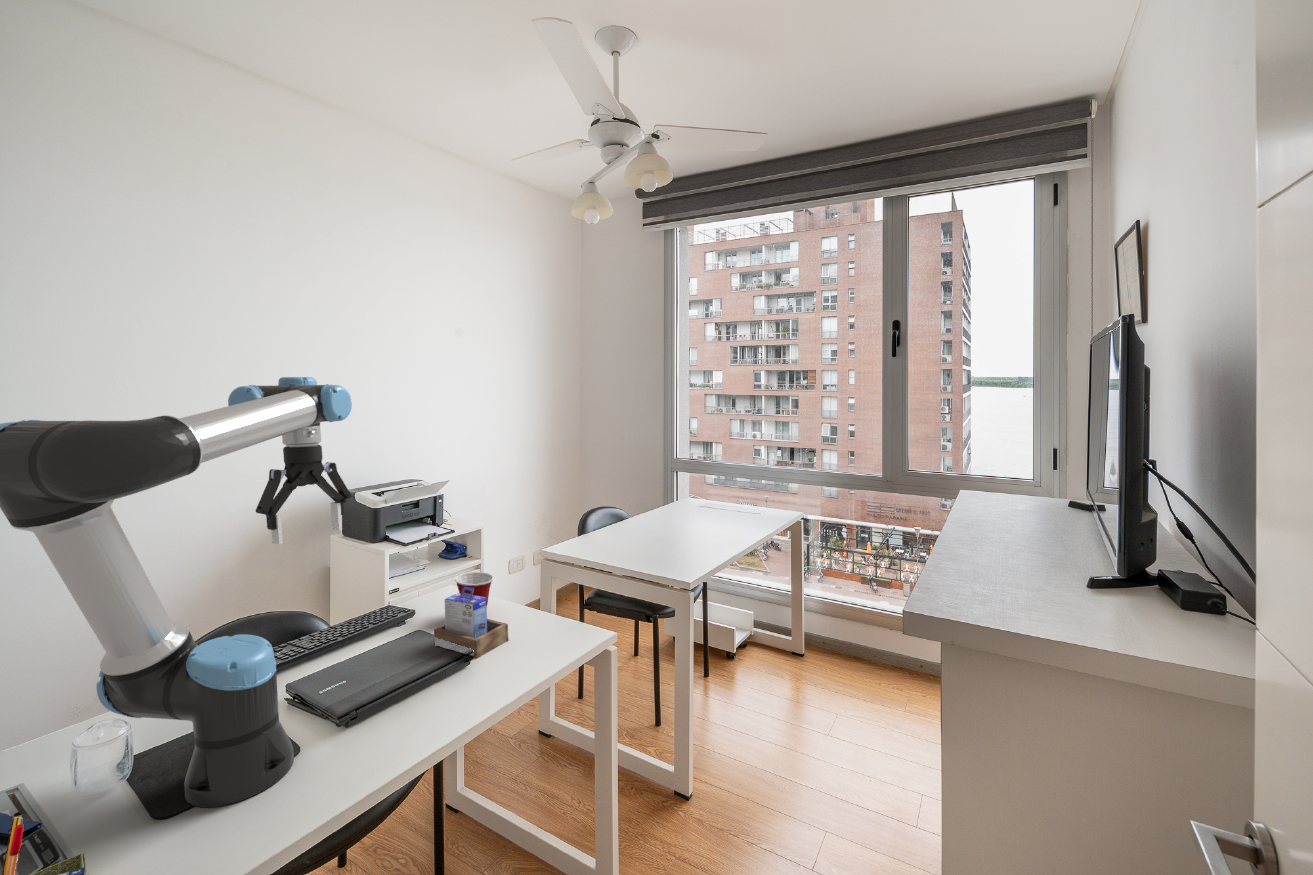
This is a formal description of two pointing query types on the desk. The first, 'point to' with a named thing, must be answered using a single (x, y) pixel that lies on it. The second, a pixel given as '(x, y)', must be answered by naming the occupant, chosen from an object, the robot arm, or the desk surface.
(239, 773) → the robot arm
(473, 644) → the open wooden box
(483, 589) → the plastic cup
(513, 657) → the desk surface
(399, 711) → the desk surface
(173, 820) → the desk surface
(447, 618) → the ink cartridge box
